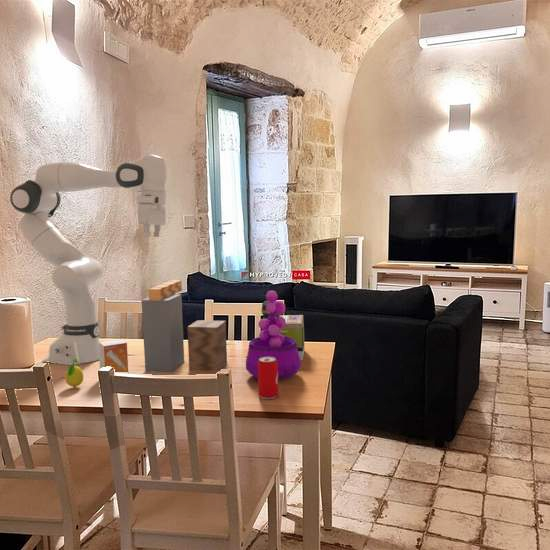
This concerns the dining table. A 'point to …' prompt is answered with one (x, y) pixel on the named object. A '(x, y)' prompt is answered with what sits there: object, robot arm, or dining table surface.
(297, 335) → the tea box
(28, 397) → the dining table surface
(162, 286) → the orange bar
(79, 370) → the lemon
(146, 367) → the charcoal stand
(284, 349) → the decorative plant
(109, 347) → the small box
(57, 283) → the robot arm
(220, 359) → the walnut pedestal
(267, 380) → the beverage can
